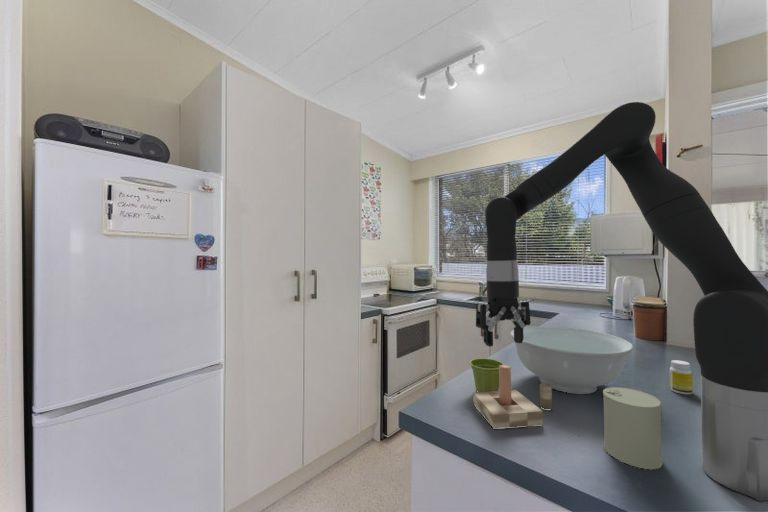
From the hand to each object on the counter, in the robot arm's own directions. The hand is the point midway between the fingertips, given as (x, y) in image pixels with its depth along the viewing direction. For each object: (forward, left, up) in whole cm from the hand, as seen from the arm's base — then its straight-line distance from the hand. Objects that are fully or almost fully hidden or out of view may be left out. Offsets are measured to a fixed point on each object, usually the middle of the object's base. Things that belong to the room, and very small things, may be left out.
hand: (504, 344), depth 79 cm
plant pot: (+13, -1, -18) cm, 23 cm away
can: (-18, -17, -18) cm, 31 cm away
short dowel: (+2, -12, -18) cm, 22 cm away
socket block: (0, 0, -18) cm, 18 cm away
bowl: (+16, -28, -18) cm, 37 cm away
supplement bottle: (+6, -56, -18) cm, 59 cm away
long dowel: (+1, 0, -18) cm, 18 cm away
